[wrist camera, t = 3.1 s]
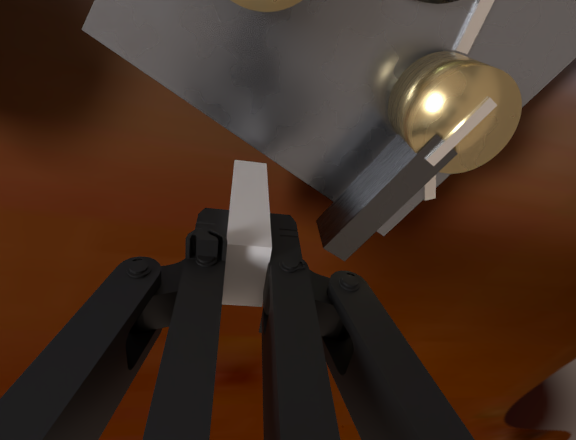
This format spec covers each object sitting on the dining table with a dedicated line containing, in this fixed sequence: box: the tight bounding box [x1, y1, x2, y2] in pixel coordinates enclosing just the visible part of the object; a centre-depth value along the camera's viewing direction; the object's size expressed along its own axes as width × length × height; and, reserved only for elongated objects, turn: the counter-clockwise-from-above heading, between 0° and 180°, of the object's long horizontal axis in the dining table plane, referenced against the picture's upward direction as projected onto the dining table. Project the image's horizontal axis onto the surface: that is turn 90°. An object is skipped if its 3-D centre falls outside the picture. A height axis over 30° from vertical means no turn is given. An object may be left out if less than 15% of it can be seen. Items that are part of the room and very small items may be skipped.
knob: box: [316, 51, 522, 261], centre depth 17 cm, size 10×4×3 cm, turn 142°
